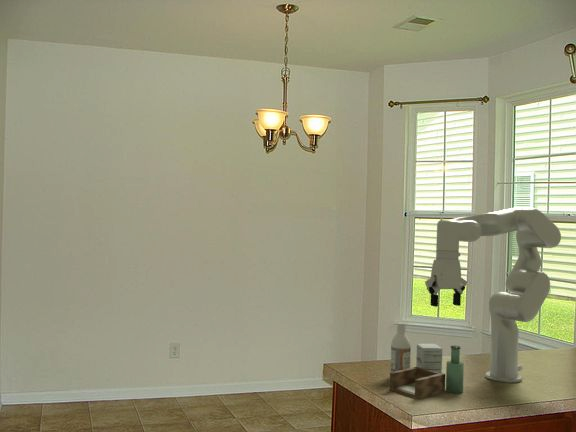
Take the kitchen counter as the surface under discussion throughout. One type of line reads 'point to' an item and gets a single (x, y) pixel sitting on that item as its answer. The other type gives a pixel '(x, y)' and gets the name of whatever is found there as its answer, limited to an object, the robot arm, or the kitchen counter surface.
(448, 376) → the green bottle
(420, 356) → the supplement box
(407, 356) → the bath foam
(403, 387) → the walnut U-rest
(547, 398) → the kitchen counter surface
